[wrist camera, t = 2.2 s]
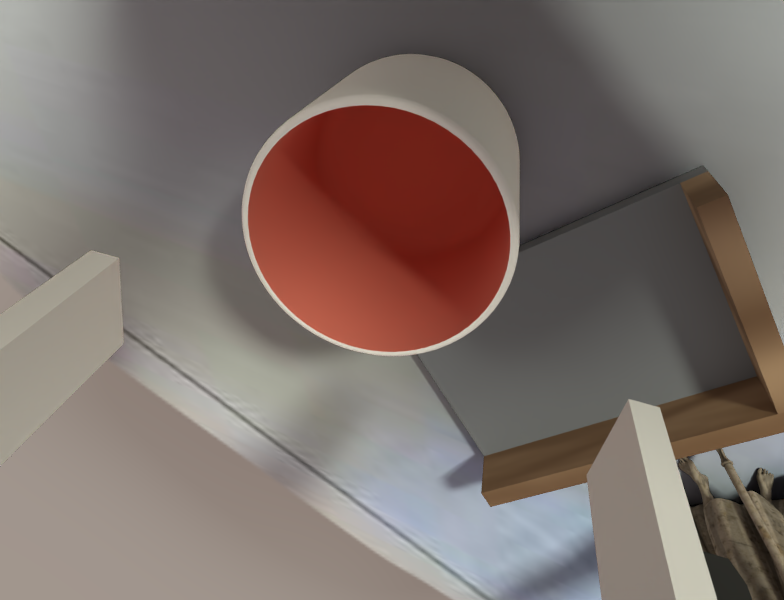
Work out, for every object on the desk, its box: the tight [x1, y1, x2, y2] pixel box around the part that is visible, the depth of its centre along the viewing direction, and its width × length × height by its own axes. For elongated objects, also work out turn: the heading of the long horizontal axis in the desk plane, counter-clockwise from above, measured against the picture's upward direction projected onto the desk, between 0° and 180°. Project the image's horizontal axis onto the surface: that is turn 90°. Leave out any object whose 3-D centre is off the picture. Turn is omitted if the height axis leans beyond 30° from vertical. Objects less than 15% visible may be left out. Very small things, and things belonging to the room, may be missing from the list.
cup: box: [242, 54, 520, 356], centre depth 25 cm, size 10×10×10 cm
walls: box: [481, 171, 784, 507], centre depth 31 cm, size 13×17×3 cm
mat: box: [417, 166, 757, 456], centre depth 33 cm, size 13×17×1 cm
